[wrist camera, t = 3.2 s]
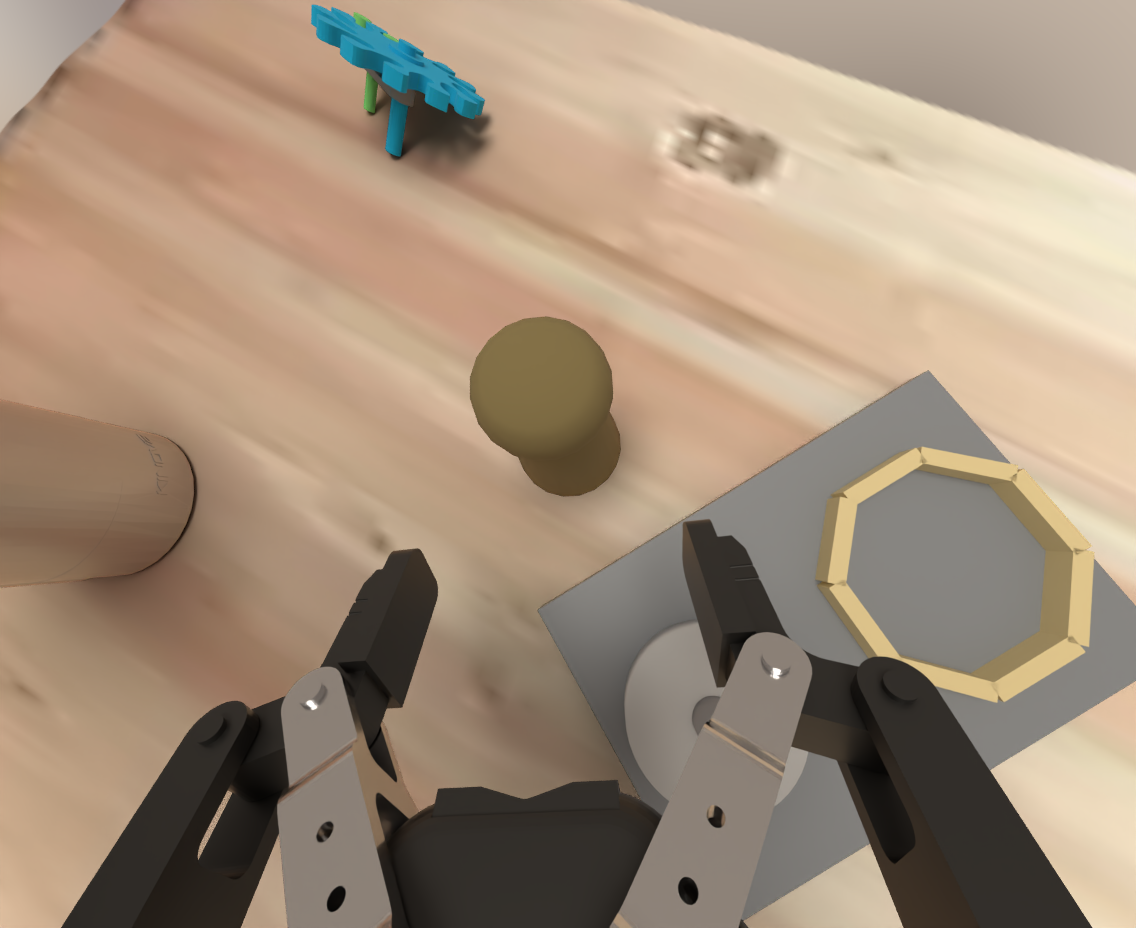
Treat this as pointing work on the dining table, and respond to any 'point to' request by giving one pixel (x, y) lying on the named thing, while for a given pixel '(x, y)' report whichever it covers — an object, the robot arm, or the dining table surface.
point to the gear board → (861, 610)
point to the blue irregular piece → (394, 70)
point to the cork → (548, 403)
